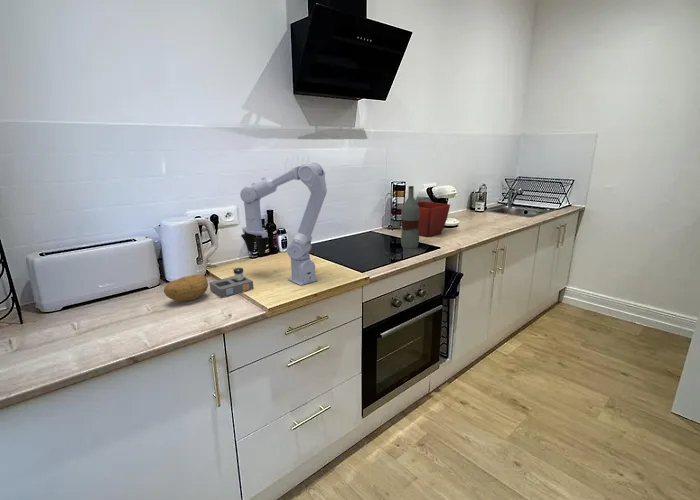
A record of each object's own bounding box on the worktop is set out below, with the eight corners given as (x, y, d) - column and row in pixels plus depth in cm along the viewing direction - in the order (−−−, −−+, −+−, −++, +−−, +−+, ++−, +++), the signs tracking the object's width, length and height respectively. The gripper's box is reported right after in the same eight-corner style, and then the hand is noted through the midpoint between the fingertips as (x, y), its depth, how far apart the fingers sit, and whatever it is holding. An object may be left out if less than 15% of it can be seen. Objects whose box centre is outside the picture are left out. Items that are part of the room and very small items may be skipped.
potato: (161, 302, 125) (157, 279, 123) (203, 290, 134) (200, 269, 132) (172, 310, 118) (168, 287, 116) (214, 298, 128) (211, 276, 125)
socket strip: (254, 289, 135) (253, 281, 134) (221, 298, 127) (220, 289, 127) (241, 282, 142) (240, 274, 142) (210, 290, 135) (209, 282, 134)
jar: (246, 287, 137) (244, 269, 135) (238, 289, 135) (236, 271, 133) (241, 285, 139) (240, 267, 137) (233, 287, 137) (231, 269, 135)
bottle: (419, 249, 183) (421, 187, 175) (400, 248, 184) (401, 187, 176) (418, 244, 192) (420, 185, 184) (400, 244, 193) (401, 185, 185)
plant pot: (429, 239, 201) (430, 208, 196) (402, 234, 215) (402, 205, 210) (449, 233, 213) (451, 204, 209) (422, 228, 227) (423, 201, 222)
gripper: (273, 218, 139) (276, 253, 143) (252, 214, 149) (255, 247, 153) (256, 221, 135) (260, 258, 138) (236, 217, 144) (239, 251, 148)
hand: (256, 252), depth 145 cm, fingers open, 7 cm apart
